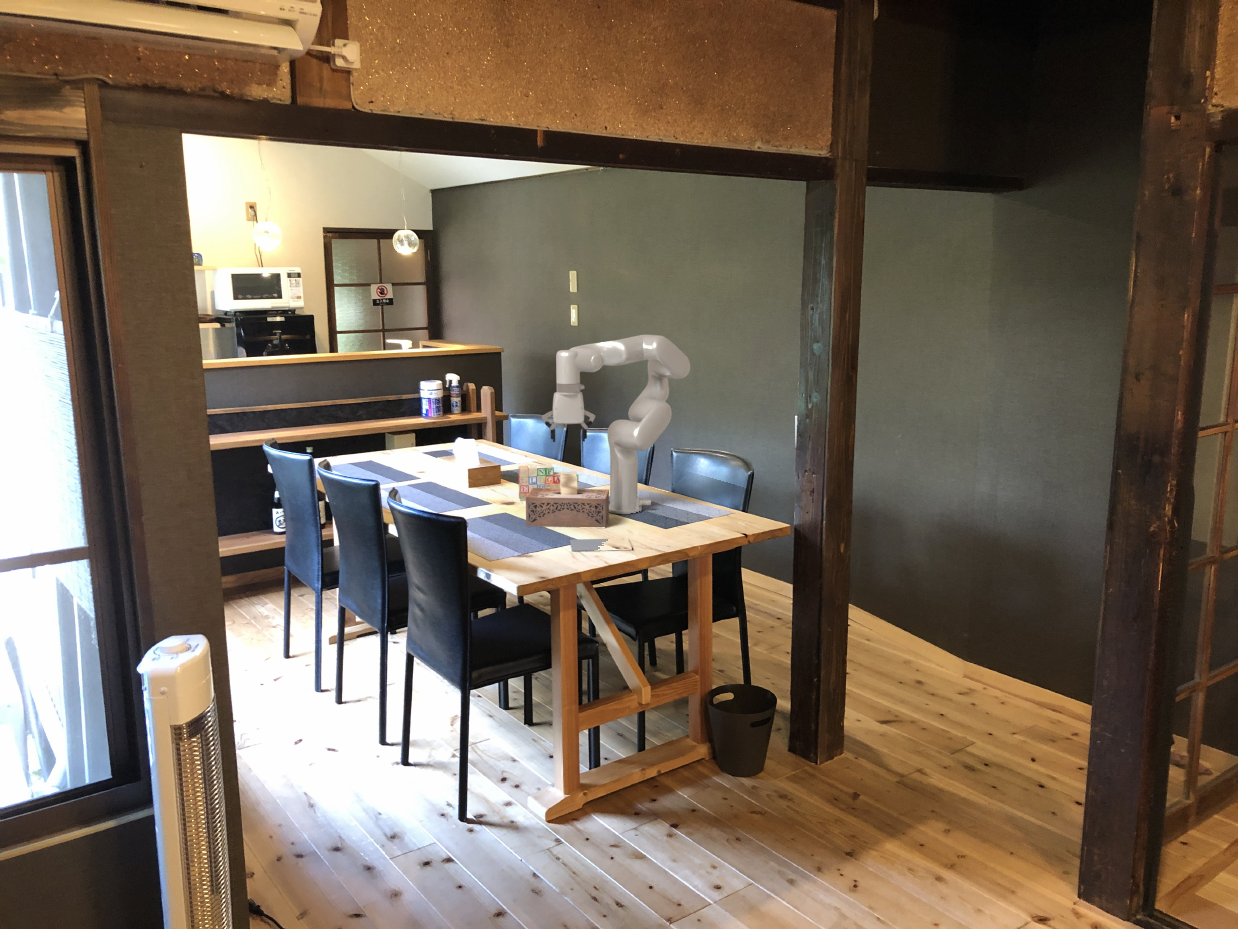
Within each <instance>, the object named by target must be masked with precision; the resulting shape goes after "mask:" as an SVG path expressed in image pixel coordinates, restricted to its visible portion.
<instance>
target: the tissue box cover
mask: <svg viewBox="0 0 1238 929" xmlns="http://www.w3.org/2000/svg"><path fill="white" fill-rule="evenodd" d="M609 504H610V488H609V489H607V488H606V489H604V488H601V489H598V488H579V489H577V495H562V494H561V493H560V488H532V490H531V491H530V492H529V494H528V495H527V496H526V501H525V527H545V528H546V527H549V528H550V527H551V528H580V527H607V525H608V522H607V521H609V518H610V512H609ZM606 524H607V525H606Z"/></svg>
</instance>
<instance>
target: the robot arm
mask: <svg viewBox="0 0 1238 929" xmlns="http://www.w3.org/2000/svg"><path fill="white" fill-rule="evenodd" d="M555 358H556V359H555V360H556V362H555V364H556V367H555V368H556V370H555V371H556V372H555V373H556V374H555V375H556V376H555V377H556V392H554V393H553V398H552V410H550V411H548V412H546V413H545V414H542V416H541V419H542V421H543V422H544V424H545V426H546V427H547V428H549V429H550V440H552V442H553V443H555V442H556V429H555V428H556V426H558V425H575V424H577V425H579V424H580V425H581V427H582V428H581V441H582V442H586V439H588V428H589V427H590V426H592V424H593V422H594V420H595V418H596V415H595V414H593V413H591V412H589V411H587V410H585V408H584V407H585V404H584V395H583V392H581V391H582V390H585V385H584V384H581V374H580V373H581V372H585V373H595V372H598V371H599V370H600V369H601V368H603V366H609V367H610V366H612V367H613V366H615V367H617V366H624V365H628V364H632V363H636V362H641V361H647V360H648V362H647V373H648V374H647V375H648V381H647V384H646V386H645V388H644V389H643V390H642V392H641V393H640V394H639V395H638V397H636V399H635V400H634V401H633V403H632V404H631V405H630V407H629V408H628V413H627V414H628V418H629V419H617V420H614V421H613V422H612V423H610V425H609V426H608V428H607V433H606V434H607V442H608V448H609V457H610V458H609V459H610V460H609V461H610V462H609V464H610V466H609V468H610V469H609V470H610V473H609V478H610V479H609V485H610V486H609V514H610V513H611V514H617V515H630V514H631V513H633V514H637V513H636V512H638V513H640V512H642V510H643V508H642V507H643V506H651V504H652V500H651V499H646V498H642V499H641V498H640V497H639V496H638V480H639V479H638V478H639V477H638V476H639V475H638V472H639V471H638V470H639V468H638V467H639V461H638V454H637V451H639V452H643V451H647V450H648V449H650V448H651V447H652V446H653V445H654V444H655V443H656V441H657V440H658V439H659V437H661V434H663V433H664V431H665V430H666V428H667V427H668V426H669V424H670V423H671V419H672V408H671V405H670V404H669V403H668V402H666V401H667V400H668V398H669V396H670V394H669V393H670V386H669V379H674V380H681V379H684V378H686V377H687V376H688V375H689V373H690V371H691V362H690V359H689V358H688V356H687V355H686V354H685V353H684V352H683V351H682V350H681V349H679V348H678V346H677V345H675V344H674V342H672V341H671V340H670V339H668V337H665V336H663V335H659V334H658V335H657V334H656V335H655V334H640V335H634V336H630V337H625V338H620V339H616V340H609V341H601V342H594V343H588V344H587V343H586V344H581V345H578V346H574V347H571V348H569V349H561V350H558V351H557V352H556V355H555ZM551 416H552V422H551V423H550V421H548V418H549V417H551ZM585 416H586V417H589V420H587V422H586V423H585ZM639 511H640V512H639ZM631 515H632V514H631Z"/></svg>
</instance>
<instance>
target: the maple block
mask: <svg viewBox="0 0 1238 929" xmlns="http://www.w3.org/2000/svg"><path fill="white" fill-rule="evenodd" d="M560 493H561V494H562V495H577V476H576V474H560Z"/></svg>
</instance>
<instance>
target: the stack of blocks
mask: <svg viewBox="0 0 1238 929" xmlns="http://www.w3.org/2000/svg"><path fill="white" fill-rule="evenodd" d="M560 474H576V476H577V489H580V488H579V486H580V485H579V481H580V480H579V474H578V472H577V471H555V467H554V466H553V464H547V463H546V464H531V465H530V464H528V465H525V464H524V465H523V464H522V465H518V475H517V476H518V480H517V481H518V497H519V501H520V502H526V496H527V495H528V494H529V492H530V491H531V490H532V488H560Z"/></svg>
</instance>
